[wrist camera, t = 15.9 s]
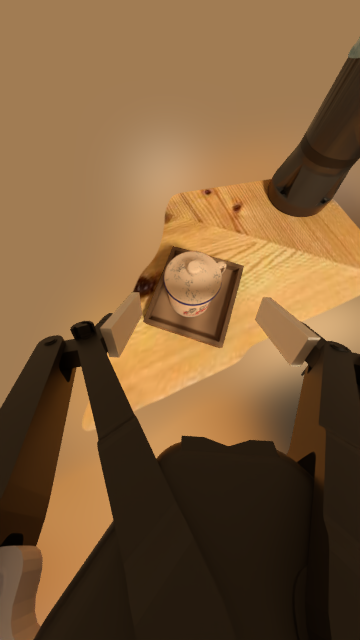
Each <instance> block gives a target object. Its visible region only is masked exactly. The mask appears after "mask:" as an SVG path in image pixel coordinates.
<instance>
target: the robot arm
mask: <svg viewBox="0 0 360 640" xmlns="http://www.w3.org/2000/svg"><path fill="white" fill-rule="evenodd" d="M348 55H349V56H348V59H347V61H346V62H345V64H344V66H343V67H342V70H341V71H340V73H339V75H338V76H337V78H336V80H335V82H334V84H333V85H332V87H331V89H330V91H329V93H328V94H327V96H326V98H325V99H324V101H323V103H322V105H321V107H320V108H319V110H318V112H317V114H316V116H315V117H314V119H313V121H312V123H311V124H310V126H309V128H308V130H307V132H306V133H305V135H304V137H303V139H302V140H301V142H300V144H299V145H298V146H297V148H296V149H295V150H294V151H293V152H292V153H291V155H290V156H289V157H288V158H287V159H286V161H285V162H284V163H283V164H282V165H281V166H280V168H279V169H278V170H277V171H276V173H275V174H274V176H273V178H272V180H271V182H270V184H269V186H268V196H269V199H270V200H271V202H272V203H273V205H274V206H275V207H276V208H278V209H279V210H280V211H282V212H284V213H286V214H289V215H292V216H297V217H307V216H312V215H314V214H317V213H318V212H320V211H321V210H322V209H323V208H324V207H325V206H326V205H327V204H328V203H329V202H330V201H331V199H332V198H333V196H334V195H335V193H336V191H337V190H338V188H339V187H340V185H341V183H342V182H343V180H344V178H345V177H346V175H347V174H348V172H349V170H350V169H351V167H352V166H353V165H354V164H355V163H356V161H357V160H358V159H359V158H360V38H359V39H358V41H357V43H356V44H355V45H354V46H353V47H352V49H351V51H350V52H349V54H348ZM141 316H142V310H141V303H140V295H139V292H132V293H131V294H130V295H129V296H128V297H127V298H126V300H125V301H124V302H123V303H122V304H121V305H120V306H119V307H118V308H117V310H116V311H115V312H114V313H109V314H107V315H106V316H104V317H103V318H102V320H100V322H99V323H98V324H97V325H96V326H94V324H93V322H91V321H82V322H79V323H76V324H75V325H73V326H72V327H71V329H70V330H71V332H72V334H73V336H74V338H75V339H72V340H66V341H64V339H63V337H61V336H58V335H57V336H51V337H47V338H45V339H43V340H42V341H40V342H39V343H38V344H37V346H36V348H35V349H34V351H33V353H32V355H31V356H30V358H29V360H28V362H27V363H26V365H25V367H24V369H23V370H22V372H21V374H20V375H19V377H18V379H17V381H16V382H15V384H14V386H13V388H12V389H11V391H10V393H9V394H8V396H7V398H6V400H5V402H4V403H3V405H2V407H1V408H0V640H360V354H357V353H352V352H351V350H349V349H348V348H347V347H345V346H344V345H342V344H339V343H337V342H332V341H326V340H325V339H323V338H322V337H321V336H319V335H318V334H317V333H316V332H314V331H313V330H312V329H310V327H308V326H307V325H306V324H304V323H302V322H300V321H299V320H298V319H296V318H295V317H294V316H293V315H291V314H290V313H289V312H288V311H286V310H285V309H284V308H283V307H282V306H280V305H279V304H278V303H277V302H275V301H274V300H273V299H272V298H268V297H263V299H262V302H261V304H260V307H259V310H258V313H257V316H256V318H255V320H256V321H257V323H258V324H259V325H260V327H261V328H262V329H263V331H264V332H265V333H266V335H267V336H268V337H269V339H270V340H271V341H272V342H273V344H274V345H275V346H276V348H277V349H278V350H279V352H280V353H281V354H282V356H283V357H284V358H285V359H286V361H287V362H288V363H289V365H290V366H301V365H302V364H303V362H304V361H306V362H307V363H308V366H307V367H306V369H305V370H304V371H303V373H302V374H301V375H302V376H303V375H304V379H303V384H302V389H301V394H300V400H299V404H298V409H297V414H296V419H295V424H294V429H293V434H292V439H291V443H290V448H289V451H288V453H287V455H286V454H284V453H282V452H280V451H278V450H276V448H275V445H274V443H273V442H272V441H256V440H249V441H246V442H242V443H239V444H236V445H232V446H226V445H223V444H220V443H218V442H215V441H212V440H210V439H207V438H205V437H192V436H182V439H181V440H182V441H181V442H180V443H176V444H174V445H172V446H170V447H169V448H167V449H166V450H165V451H163V452H162V453H161V454H160V455H159V456H158V458H157V459H156V458H155V456H154V454H153V451H152V449H151V447H150V445H149V443H148V441H147V438H146V436H145V434H144V432H143V430H142V428H141V426H140V423H139V421H138V419H137V417H136V416H135V415H134V413H133V411H132V408H131V406H130V404H129V402H128V400H127V397H126V395H125V393H124V391H123V389H122V387H121V384H120V382H119V380H118V378H117V376H116V373H115V371H114V369H113V367H112V365H111V363H110V360H109V358H108V356H107V352H108V353H109V356H110V357H120V355H121V353H122V351H123V350H124V348H125V346H126V344H127V342H128V340H129V338H130V337H131V335H132V333H133V331H134V329H135V327H136V325H137V323H138V322H139V320H140V318H141ZM80 366H81V367H82V371H83V375H84V379H85V383H86V387H87V392H88V396H89V400H90V404H91V409H92V413H93V417H94V421H95V426H96V430H97V434H98V443H97V445H98V451H99V457H100V461H101V465H102V470H103V475H104V479H105V484H106V488H107V493H108V497H109V501H110V506H111V511H112V515H113V522H112V523H111V525H110V526H109V528H108V529H107V531H106V532H105V534H104V535H103V536H102V538H101V539H100V541H99V542H98V544H97V545H96V546H95V548H94V549H93V551H92V552H91V554H90V555H89V556H88V558H87V559H86V561H85V562H84V564H83V565H82V567H81V568H80V570H79V571H78V572H77V574H76V575H75V577H74V578H73V580H72V581H71V583H70V584H69V585H68V587H67V588H66V590H65V591H64V593H63V594H62V596H61V597H60V599H59V600H58V601H57V603H56V604H55V606H54V607H53V609H52V610H51V612H50V613H49V615H48V616H47V618H46V619H45V621H44V622H43V624H42V626H40V625H39V624H38V623H37V619H36V614H35V598H36V593H37V588H38V585H39V581H40V576H41V571H42V555H41V551H40V550H39V549H38V548H37V547H36V545H37V542H38V539H39V535H40V532H41V529H42V526H43V523H44V520H45V516H46V512H47V508H48V504H49V500H50V495H51V490H52V486H53V481H54V476H55V471H56V466H57V460H58V456H59V451H60V446H61V441H62V436H63V431H64V426H65V421H66V416H67V411H68V407H69V402H70V397H71V391H72V387H73V381H74V377H75V372H76V367H80Z"/></svg>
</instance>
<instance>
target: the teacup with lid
mask: <svg viewBox="0 0 360 640" xmlns="http://www.w3.org/2000/svg"><path fill="white" fill-rule="evenodd" d="M225 269H226V264H225V262H223V261H220V262H218V263H216V261H215V260H214V259H213V258H211V257H210V256H208V255H206V254H204V253H201V252H196V251H189V252H184V253H181V254H179V255H177V256H176V257H174V258H173V259H172V260H171V261H170V262H169V264H168V265H167V267H166V270H165V273H164V285H165V288H166V290H167V292H168V295H169V300H170V303H171V306H172V308H173V309H174V310H175V311H176V312H177V313H178V314H180V315H182V316H185V317H195V316H198V315H200V314H202V313H203V312H204V311H205V310H206V309H207V308H208V306H209V304H210V303H211V301H212V299H213V298H214V297H215V296H216V295H217V294H218V292H219V290H220V288H221V285H222V273H223V272H224V271H225Z"/></svg>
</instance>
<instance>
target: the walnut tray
mask: <svg viewBox="0 0 360 640" xmlns="http://www.w3.org/2000/svg"><path fill="white" fill-rule="evenodd" d="M184 252H189V250H185V249H181V248H178V247H174V246H173V248H172V250H171V253H170V255H169V258H168V260H167V263H166V265H165V268H164V270H163V273H162V275H161V278H160V280H159V283H158V285H157V288H156V290H155V293H154V295H153V298H152V300H151V303H150V305H149V308H148V310H147V313H146V315H145V318H144V320H143V322H145V323H146V324H148V325H151V326H154V327H157V328H160V329H164V330H167V331H170V332H173V333H176V334H179V335H182V336H185V337H188V338H191V339H194V340H197V341H200V342H203V343H206V344H209V345H212V346H215V347H218V348H222V347H223V343H224V340H225V336H226V332H227V328H228V324H229V321H230V317H231V313H232V309H233V306H234V302H235V298H236V294H237V290H238V287H239V283H240V279H241V275H242V271H243V268H244V266H242V265H239V264H235V263H232V262H228V261H224V260H221V259H217V258H214V257H211V258H213V259H214V260H215V261H216V263H218V262H220V261H223V262H225V264H226V269H225V271H224V272H223V273H222V285H221V288H220V290H219V292H218V294H217V295H216V296H215V297H214V298H213V299H212V301H211V303H210V304H209V306H208V308H207V309H206V310H205V311H204V312H203V313H202V314H200V315H198V316H195V317H185V316H182V315H180V314H178V313H177V312H176V311H175V310H174V309H173V308H172V306H171V303H170V300H169V295H168V292H167V290H166V288H165V285H164V273H165V270H166V267H167V265H168V264H169V262H170V261H171V260H172V259H173V258H174V257H176V256H177V255H179V254H181V253H184Z"/></svg>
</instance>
